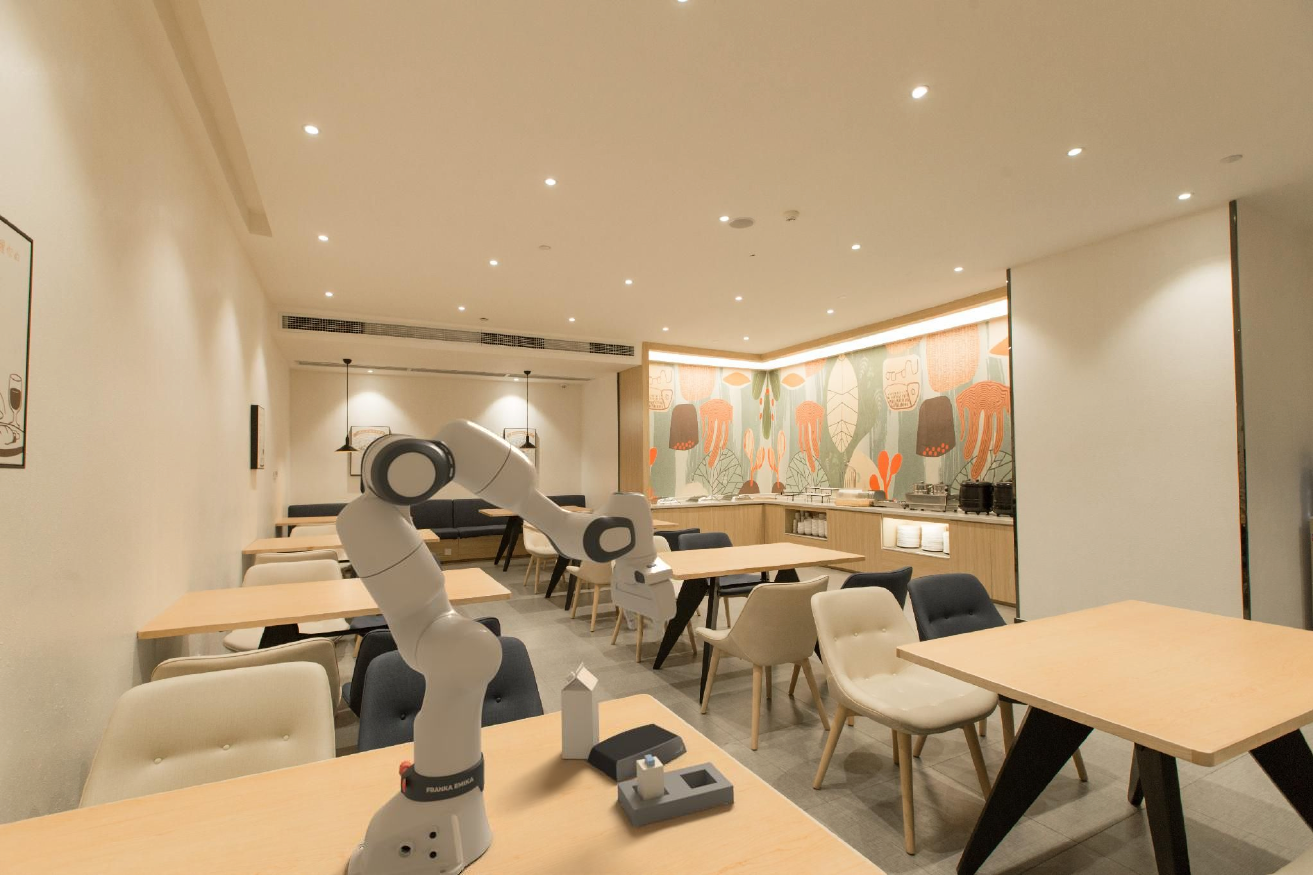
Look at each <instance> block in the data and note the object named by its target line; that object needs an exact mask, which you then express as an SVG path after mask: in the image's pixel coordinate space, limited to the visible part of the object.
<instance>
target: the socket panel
mask: <svg viewBox="0 0 1313 875" xmlns="http://www.w3.org/2000/svg"><path fill="white" fill-rule="evenodd" d="M734 794H735V792H734V784H732V783H731V781H730V780H728V778H726V777H725V775H723V773H722V772H721V771H720V770H719V769H718V768H717V767H716V766H715V765H714V764H713V763H712V762H711V761H709V762H705V763H701V764H695V765H691V766H687V767H683V768H679V769H678V768H677V769H673V770H670V771H665V772H664V796H660V797H656V798H652V799H648V800H644V801H641V799H640V798H639V796H638V795H637V778H633V779H628V780H626V781H625V780H624V781H619V782H617V800H618V801H619V803H620V805H621V807H622V809H623V810H624V811H625V813H626V815H627V817H628V819H629V820H630V822H631V824H632V825H633V827H634V828H639V827H642V826H646V825H651V824H654V823H657V822H662V821H666V820H669V819H675V818H676V817H681V816H685V815H688V814H692V813H696V812H700V811H704V810H708V809H712V808H715V807H719V806H723V805H726V804H731V803H734V802H735V798H734V797H735V795H734Z"/></svg>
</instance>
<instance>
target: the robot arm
mask: <svg viewBox="0 0 1313 875" xmlns="http://www.w3.org/2000/svg"><path fill="white" fill-rule="evenodd" d="M437 430H438V431H437V432H436V433H435V434H434V435H433V436H432V437H430V438H427V439H423V438H420V437H416V436H413V435H409V434H406V433H405V434H404V433H389V434H384V435H382V436H379V437H377V438H376V439H374V440H372V442H370V443H369V445H367V446H366V448H365V450H364V452H363V454H362V456H361V461H360V486H359V490H360V493H361V495H360V496H358V497H357V498H355V499H354V500H352V501H350V502H348V504H346V505H345V506H344V507H343V509H341V511H340V512H338V515H337V517H336V521H335V529H336V533H337V535H338V539H339V541H340V543H341V546H342V548H343V551H344V552H345V554H346V557H347V558H348V561H349V563H350V564H351V566H352V568H353V570H354V571H355V573H356V574H357V576H358V577H359V578H358V579H360V580H361V583H362V584H363V586H364V587H365V588H366V590H367V592H368V593H369V594H370V596H371V598H372V599H373V601H374V603H375V604H376V606H377V608H378V609H379V610H380V612H381V614H382V616H383V617H384V619H385V622H386V624H387V626H388V628H389V631H390V633H391V636H392V638H393V641H394V642H395V645H396V648H397V650H398V653H399V654H400V656H401V657H402V659H403V661H404V662H405V663H406V665H407V666H409V668H411V669H412V670H414V671H416V672H418V673H420V674H422V675H423V677H424V679H425V692H424V697H423V701H422V705H421V709H420V710H419V711H418V712H417V714H416V716H415V717H414V722H413V763H412V762H411V761H410V760H404V761H402V762H401V763H400V765H399V769H398V775H399V776H400V790H399V791H397V793H396V794H395V795H393V797H391V798H390V799H389V800H388V801H387V802H386V803H384V804H383V805H382V806H381V807H380V808H378V810H377V811H376V812H375V813H374V814H373V816H372V818H371V819H370V822H369V824H368V826H367V828H366V832H365V836H364V839H362V840H361V841H360V842H359V843H358V845H357V846H356V847H355V848H354V850H353V851H352V853H351V856H350V859H349V861H348V862H349V863H348V866H347V873H348V875H457V874H459V873H460V872H461V870H462V871H464V869H465V868H466V867H468V865H470V863H473V862H474V861H475V860H476V859H478V858H479V857H480V856H482V855H483V854H484V852H486V851H487V849H488V848H490V847H489V846H490V845H491V844H492V839H493V833H492V829H491V827H490V824H489V819H488V815H487V811H486V810H487V809H486V805H485V797H484V796H485V795H484V789H485V783H486V764H485V758H484V754H483V751H482V714H483V712H482V710H483V705H484V699H485V696H486V692H487V688H488V684H490V682H491V681H492V680H493V679H494V678H495V676H496V675H497V673H498V671H499V669H500V667H501V664H502V661H503V660H502V659H503V649H502V648H503V647H502V644H501V641H500V640H499V637H497V635H496V634H494V633H493V632H492V630H490V629H489V628H488V627H487V626H485V625H484V624H483V623H482V622H478V621H477V620H473V619H471V618H466V617H465V616H462V615H461V614H460V613H458V612H457V611H456V610H455V608H454V607H453V606H452V604H451V602H450V599H449V597H448V594H447V589H446V588H445V583H446V578H445V574H444V572H443V571H442V569H441V568H440V566H439V565H438V563H437V561H436V559H435V557H434V555H433V554H432V552H431V551H430V548H429V547H428V546H427V544H426V542H425V541H424V539H423V537H422V535H421V534H420V532H419V531H418V529H417V527H416V526H415V524H414V522H413V519H412V517H411V507H412V506H417V505H420V504H422V503H425V502H427V501H428V500H429V499H431V498H432V497H434V496H435V495H436V494H437V493H438V492H439V491H440V490H442V489H443V488H444V487H445V486H447V485H449V483H450V482H453V483H455V484H457V485H458V486H461V487H463V488H464V489H466V490H467V491H468V492H470V494H471V493H472V494H473V495H474V496H477V497H478V498H480V499H482V500H483V501H485V502H487V503H489V504H490V505H493V506H495V507H497V508H501V509H503V510H506V511H508V512H511V513H513V514H515V515H517V517H519V518H521V519H522V520H524V521H525V522H526V523H528V524H530V526H533V527H534V528H535V529H537V530H538V531H539V532H541V533H542V534H543V535H544V536H545V537H546V539H547V540H548V542H549V543H550V545H551V547H552V548H553V550H554V551H555V552H556V553H557V554H558V556H559V555H560V557H562V558H564V559H569V560H578V561H584V562H590V563H594V564H606V563H609V562H612V561H615V563H614V565H613V567H612V574H611V575H610V595H611V601H612V603H613V606H616V607H619V608H622V612H623V615H624V617H625V619H626V621H627V628H629V629H630V630H633V631H634V630H636V629H638V628H639V619H637V617H636V615H635V613H636V614H639V615H642V616H644V617H647V618H649V619H651V620H652V623H653V624H654V626H653V629H651V636H652V638H653V639H655V640H657V641H658V640H661V639H663V638H664V631H663V629H664V627H665V623H666V622H667V621H670V620H672V619H674V618H675V617H676V614H677V600H676V592H675V587H674V584H673V582H672V580H671V579H672V578H674V573H673V569H672V567H670V565H668V564H667V563H665V562H664V561H663V560H662V559H661V558H660V557H659V556H658V553H657V547H656V544H655V542H654V534H655V529H654V519H653V513H652V510H651V505H650V502H649V500H648V498H647V496H646V495H645V494H643V493H640V492H637V491H636V492H634V491H633V492H632V491H631V492H629V491H616V492H613V493H612V494H610V497H609V498H608V499H607V501H606V502H605V503H604V504H603V505H602V506H601V507H599V508H598V509H596V510H595V511H593V512H592V513H586V512H581V511H575V510H567V509H564V508H562V507H560V506H559V505H558V504H557V503H555V502H554V501H553V500H552V499H550V498H549V497H547V496H546V495H544V494H543V493H542V492H540V491H539V490H538V489H537V487H536V484H537V481H538V480H537V479H538V474H537V473H538V472H537V468H536V466H535V463H533V462H532V460H531V459H530V458H529V457H528V456H527V455H526V454H525V453H524V452H523V451H521V450H520V448H517V447H516V446H515V445H513V444H512V443H510V442H509V441H508V440H507V439H505V438H503V437H502V436H500V435H499V434H497V433H495V432H494V431H491V430H490V429H488V428H486V427H484V426H482V425H480V424H478V423H476V422H473V421H471V420H469V419H466V418H456V419H453V420H451V421H448V422H447V423H445V424H443V425H442V426H441V427H440V428H439V429H437ZM361 847H363V849H360V848H361ZM465 866H466V867H465ZM464 867H465V868H464ZM461 873H462V872H461ZM461 873H460V874H461ZM460 874H459V875H460Z"/></svg>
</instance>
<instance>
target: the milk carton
mask: <svg viewBox="0 0 1313 875" xmlns="http://www.w3.org/2000/svg"><path fill="white" fill-rule="evenodd" d="M564 679H565V680H566V681H567V682H565V684H564V685H563V687H562V689H561V690H560V702H561V703H560V705H561V708H560V710H561V712H560V713H561V714H560V715H561V716H560V717H561V758H562V759H565V760H588V756H589V754H590V751H591V749H592V748H593V747H594V746H595V745H597V744H598V743H600V712H599V707H600V706H599V703H600V702H599V679H598V678H597V677H595V676H594V675H593V674H592V672H590V671H589V670H588V669H587V668H586V667H585V666H584V662H583V661H582V663H580V665H579V667H578V668H577V670H576V671H575V673H574V671H573V670H572V671H571V672H569V673H568V674H566V676H565V678H564Z"/></svg>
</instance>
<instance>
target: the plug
mask: <svg viewBox="0 0 1313 875" xmlns="http://www.w3.org/2000/svg"><path fill="white" fill-rule="evenodd" d="M636 763H637V775H636V779H637V795H638V796H639V798H640V799H641V801H644V800H648V799H652V798H656V797H660V796H664V771H665V770H664V769H665V768H664V764H662V763H661V762H660V761H659V760H658V758H657V757H656V756H655V757H652V756H651V754H649V755H645V759H641V760H637V761H636Z"/></svg>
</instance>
